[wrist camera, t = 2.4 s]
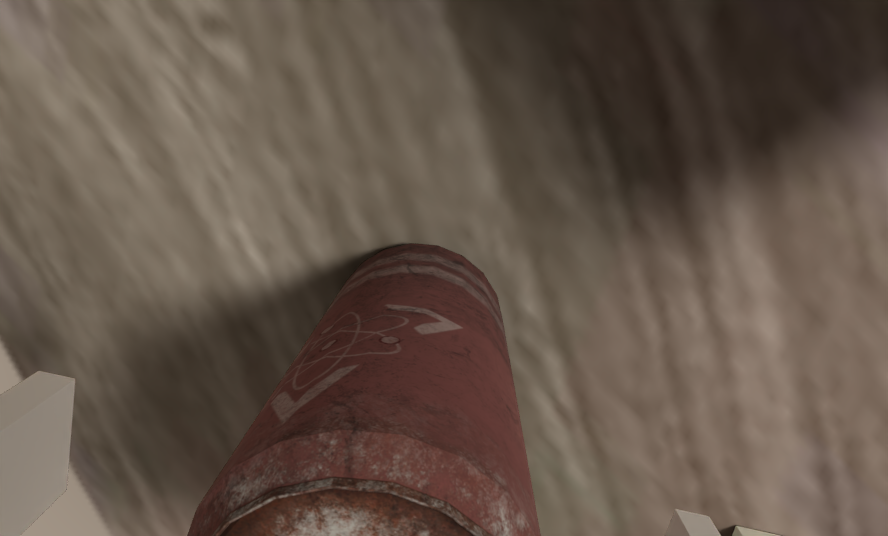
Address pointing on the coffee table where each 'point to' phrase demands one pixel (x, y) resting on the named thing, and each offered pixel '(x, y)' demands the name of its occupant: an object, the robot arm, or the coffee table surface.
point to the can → (388, 417)
